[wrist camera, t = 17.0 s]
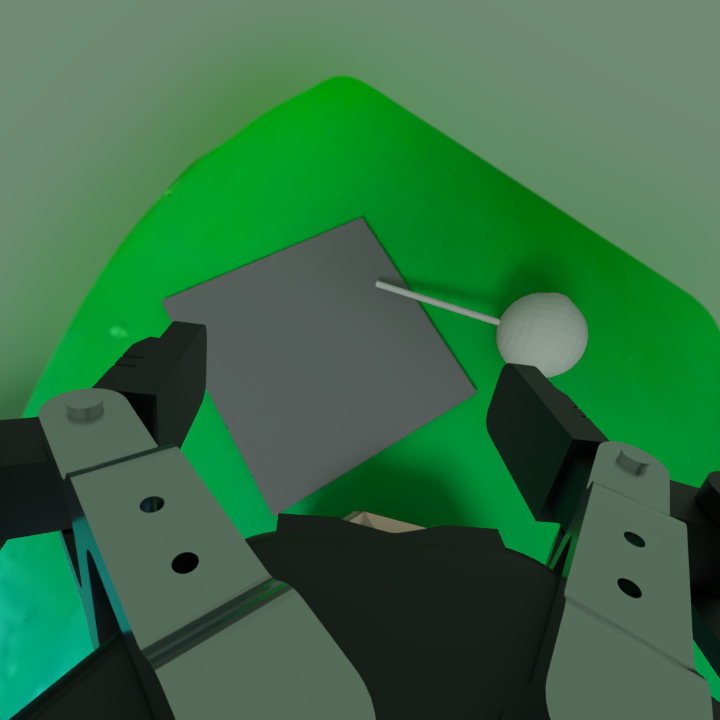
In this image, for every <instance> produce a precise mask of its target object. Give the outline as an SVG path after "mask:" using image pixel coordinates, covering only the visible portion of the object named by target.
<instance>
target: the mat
mask: <svg viewBox="0 0 720 720" xmlns="http://www.w3.org/2000/svg"><path fill="white" fill-rule="evenodd" d="M377 280H378V281H381V282H384V283H387V284H390V285H393V286H396V287H400V288H403V289H406V290H409V288H408V287H407V285H406V284H405V282H404V281H403V279H402V278H401V276H400V274H399V273H398V271H397V270H396V268H395V267H394V265H393V264H392V262H391V261H390V259H389V258H388V256H387V255H386V253H385V252H384V250H383V249H382V247H381V246H380V244H379V243H378V241H377V239H376V238H375V236H374V235H373V233H372V232H371V230H370V229H369V227H368V226H367V224H366V223H365V221H364V220H363V218H359V219H357V220H354V221H352V222H350V223H347V224H345V225H342V226H340V227H338V228H335V229H333V230H330V231H328V232H326V233H323V234H321V235H318V236H316V237H314V238H311V239H309V240H306V241H304V242H302V243H299V244H297V245H294V246H292V247H289V248H287V249H285V250H282V251H280V252H277V253H275V254H273V255H270V256H268V257H265V258H263V259H261V260H258V261H256V262H253V263H251V264H249V265H246V266H244V267H241V268H239V269H237V270H234V271H232V272H229V273H227V274H225V275H222V276H220V277H217V278H215V279H212V280H210V281H208V282H205V283H203V284H200V285H198V286H196V287H193V288H191V289H188V290H186V291H184V292H181V293H179V294H176V295H174V296H172V297H169V298H167V299H164V300H162V301H161V302H162V304H163V306H164V307H165V309H166V311H167V313H168V315H169V317H170V319H171V321H172V322H174V321H180V322H188V323H196V324H204V325H206V329H207V363H206V388H207V390H208V392H209V394H210V396H211V398H212V400H213V401H214V403H215V405H216V407H217V409H218V411H219V413H220V415H221V417H222V419H223V421H224V423H225V424H226V426H227V428H228V430H229V432H230V434H231V436H232V438H233V440H234V442H235V444H236V446H237V447H238V449H239V451H240V453H241V455H242V457H243V459H244V461H245V463H246V465H247V467H248V469H249V471H250V472H251V474H252V476H253V478H254V480H255V482H256V484H257V486H258V488H259V490H260V492H261V494H262V495H263V497H264V499H265V501H266V503H267V505H268V507H269V509H270V511H271V513H272V515H273V517H274V516H275V515H277V514H279V513H280V512H282V511H284V510H285V509H287V508H288V507H290V506H292V505H293V504H295V503H297V502H298V501H300V500H302V499H303V498H305V497H307V496H308V495H310V494H311V493H313V492H315V491H316V490H318V489H320V488H321V487H323V486H325V485H326V484H328V483H330V482H331V481H333V480H335V479H336V478H338V477H339V476H341V475H343V474H344V473H346V472H348V471H349V470H351V469H353V468H354V467H356V466H358V465H359V464H361V463H362V462H364V461H366V460H367V459H369V458H371V457H372V456H374V455H376V454H377V453H379V452H381V451H382V450H384V449H386V448H387V447H389V446H390V445H392V444H394V443H395V442H397V441H399V440H400V439H402V438H404V437H405V436H407V435H409V434H410V433H412V432H413V431H415V430H417V429H418V428H420V427H422V426H423V425H425V424H427V423H428V422H430V421H432V420H433V419H435V418H437V417H438V416H440V415H441V414H443V413H445V412H446V411H448V410H450V409H451V408H453V407H455V406H456V405H458V404H460V403H461V402H463V401H464V400H466V399H468V398H469V397H471V396H473V395H474V394H476V393H477V392H476V390H475V389H474V387H473V386H472V384H471V383H470V381H469V379H468V378H467V376H466V375H465V373H464V372H463V370H462V369H461V367H460V366H459V364H458V363H457V361H456V360H455V358H454V357H453V355H452V354H451V352H450V351H449V349H448V348H447V346H446V344H445V343H444V341H443V340H442V338H441V337H440V335H439V334H438V332H437V331H436V329H435V328H434V326H433V325H432V323H431V322H430V320H429V319H428V317H427V316H426V314H425V313H424V311H423V309H422V308H421V306H420V305H419V303H418V302H417V300H416V299H413V298H410V297H407V296H404V295H400V294H397V293H394V292H391V291H388V290H385V289H382V288H378V287H375V286H376V282H377ZM409 291H410V290H409Z"/></svg>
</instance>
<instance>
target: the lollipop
mask: <svg viewBox="0 0 720 720" xmlns="http://www.w3.org/2000/svg"><path fill="white" fill-rule="evenodd" d="M375 287H378V288H382V289H385V290H388V291H391V292H394V293H397V294H400V295H404V296H407V297H410V298H413V299H416V300H419V301H422V302H426V303H429V304H432V305H435V306H438V307H441V308H444V309H447V310H451V311H454V312H457V313H460V314H463V315H466V316H469V317H473V318H476V319H479V320H482V321H485V322H488V323H491V324H495V325H498V326H497V332H496V341H497V347H498V349H499V352H500V354H501V356H502V357H503V359H504V361H505V362H506V363H514V364H522V365H530V366H535V367H537V368H538V369H539V370H540V371H541V372H542V374H543V375H544V376H545V377H546V378H548V377H553V376H556V375H559V374H562V373H564V372H565V371H567V370H569V369H570V368H572V367H573V366H574V365H575V364H576V363H577V362H578V361H579V359H580V358H581V356H582V355H583V353H584V350H585V348H586V345H587V341H588V328H587V324H586V321H585V318H584V317H583V315H582V313H581V312H580V310H579V309H578V308H577V307H576V306H575V305H574V304H573V303H572V301H571V300H570V299H569V298H568V297H567V296H565V295H562V294H560V293H535V294H530V295H527V296H524V297H522V298H520V299H518V300H517V301H515V302H514V303H512V304H511V305H510V306H509V307H508V308H507V309H506V310H505V312H504V313H503V315H502V316H501V318H500V319H498V318H494V317H491V316H488V315H485V314H482V313H479V312H475V311H472V310H469V309H466V308H463V307H460V306H456V305H453V304H450V303H447V302H444V301H441V300H438V299H434V298H431V297H428V296H425V295H422V294H419V293H415V292H412V291H409V290H406V289H403V288H400V287H396V286H393V285H390V284H387V283H384V282H381V281H378V280H377V282H376V286H375Z"/></svg>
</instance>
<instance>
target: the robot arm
mask: <svg viewBox="0 0 720 720" xmlns="http://www.w3.org/2000/svg"><path fill="white" fill-rule="evenodd" d="M206 363H207V329H206V325H204V324H196V323H188V322H180V321H174V322H172V324H171V325H170V326H169V327H168V328H167V330H166V331H165V332H164V333H163V334H162V336H161V337H160V338H155V337H148V338H146V339H144V340H141V341H139V342H137V343H135V344H133V345H132V346H131V347H130V348H129V349H128V350H127V351H126V352H125V353H124V354H123V357H120V358H119V359H118V361H117V362H116V363H115V366H114V365H113V366H112V367H111V368H110V369H109V370H108V371H107V372H106V373H105V374H104V375H103V377H102V378H101V379H100V380H99V381H98V382H97V383H96V384H95V385H94V386H93V387H92V388H89V389H80V390H74V391H70V392H66V393H63V394H60V395H58V396H55V397H54V398H52V399H50V400H48V401H47V402H46V403H45V404H44V405H43V406H42V407H41V408H40V410H39V414H38V415H39V417H32V418H22V419H10V420H0V550H1V548H2V547H3V545H4V544H5V543H6V541H7V539H13V538H19V537H25V536H31V535H37V534H42V533H48V532H54V531H59V536H60V539H61V542H62V545H63V548H64V551H65V554H66V557H67V560H68V563H69V566H70V569H71V572H72V575H73V578H74V581H75V584H76V587H77V590H78V593H79V596H80V599H81V602H82V605H83V608H84V612H85V615H86V619H87V624H88V628H89V633H90V637H91V641H92V644H93V648H94V651H93V652H92V653H91V654H90V655H88V656H87V657H86V658H85V659H83V660H82V661H81V662H80V663H78V664H77V665H76V666H75V667H73V668H72V669H71V670H70V671H68V672H67V673H66V674H65V675H64V676H62V677H61V678H60V679H59V680H57V681H56V682H55V683H54V684H52V685H51V686H50V687H49V688H47V689H46V690H45V691H44V692H43V693H41V694H40V695H39V696H38V697H36V698H35V699H34V700H33V701H31V702H30V703H29V704H28V705H26V706H25V707H24V708H23V709H22V710H20V711H19V712H18V713H17V714H15V715H14V716H13V717H12V718H10V719H9V720H720V703H719V702H718V701H717V700H716V699H714V698H713V697H712V696H711V693H710V689H709V685H708V683H707V681H706V679H705V678H704V677H703V676H702V675H700V674H699V673H698V672H697V671H696V669H695V665H694V653H693V640H694V641H695V643H696V644H697V645H698V647H699V648H700V650H701V651H702V653H703V654H704V656H705V657H706V659H707V660H708V662H709V663H710V665H711V666H712V668H713V669H714V671H715V672H716V674H717V675H718V677H719V678H720V471H715V472H711V473H710V474H709V475H708V476H707V478H706V479H705V481H704V483H703V484H702V486H701V487H700V488H696V487H693V486H689V485H686V484H683V483H679V482H676V481H672V480H670V476H669V472H668V470H667V469H666V468H665V467H664V465H663V464H662V463H660V462H659V461H658V460H657V459H655V458H654V457H653V456H651V455H649V454H648V453H646V452H644V451H642V450H640V449H638V448H636V447H633V446H631V445H628V444H624V443H620V442H614V441H609V440H608V439H607V438H606V437H605V435H604V434H603V433H602V432H601V431H600V430H599V429H598V428H597V427H596V426H595V425H594V424H593V423H592V421H591V420H590V419H589V418H586V415H585V414H584V413H583V412H582V411H581V410H580V409H578V406H577V405H576V404H575V403H574V402H573V401H572V400H571V399H570V398H569V397H568V396H567V395H566V394H564V393H563V392H561V391H560V390H558V389H557V388H555V387H554V386H553V385H552V383H551V382H550V381H549V380H548V379H547V378H546V377H545V376H544V375H543V374H542V372H541V371H540V370H539V369H538V368H537V367H535V366H530V365H522V364H514V363H507V364H506V365H505V366H504V367H503V369H502V371H501V373H500V376H499V379H498V382H497V385H496V388H495V391H494V394H493V397H492V400H491V403H490V406H489V409H488V412H487V418H486V425H487V431H488V433H489V435H490V437H491V439H492V441H493V443H494V445H495V446H496V448H497V450H498V452H499V454H500V456H501V458H502V459H503V461H504V463H505V465H506V467H507V469H508V470H509V472H510V474H511V476H512V478H513V480H514V481H515V483H516V485H517V487H518V489H519V491H520V492H521V494H522V496H523V498H524V500H525V502H526V504H527V505H528V507H529V509H530V511H531V513H532V515H533V516H534V518H535V520H536V521H540V522H553V523H559V524H560V527H559V529H558V531H557V533H556V536H555V538H554V541H553V543H552V546H551V549H550V552H549V555H548V558H547V561H546V564H545V565H544V564H542V563H540V562H539V561H537V560H535V559H533V558H531V557H529V556H527V555H525V554H522V553H520V552H517V551H514V550H512V549H509V548H505V545H504V543H503V541H502V538H501V536H500V534H499V532H498V529H488V528H474V527H461V526H447V525H446V526H440V527H433V528H426V529H420V530H413V531H407V532H400V533H391V532H386V531H383V530H379V529H375V528H372V527H368V526H364V525H361V524H357V523H354V522H350V521H346V520H343V519H339V518H335V517H323V516H309V515H295V514H281V513H279V514H278V522H277V530H276V531H274V532H268V533H263V534H259V535H255V536H252V537H249V538H246V539H244V538H243V537H242V536H241V534H240V533H239V531H238V530H237V529H236V527H235V526H234V524H233V523H232V522H231V520H230V519H229V517H228V516H227V515H226V513H225V512H224V510H223V509H222V508H221V506H220V505H219V503H218V502H217V501H216V499H215V498H214V496H213V495H212V494H211V492H210V491H209V489H208V488H207V487H206V485H205V484H204V482H203V481H202V480H201V478H200V477H199V475H198V474H197V473H196V471H195V470H194V468H193V467H192V466H191V464H190V463H189V462H188V460H187V459H186V457H185V456H184V455H183V453H182V452H181V450H180V448H181V446H182V444H183V442H184V440H185V438H186V436H187V433H188V431H189V429H190V427H191V425H192V423H193V421H194V419H195V416H196V414H197V412H198V410H199V408H200V406H201V404H202V401H203V398H204V393H205V387H206Z"/></svg>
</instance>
